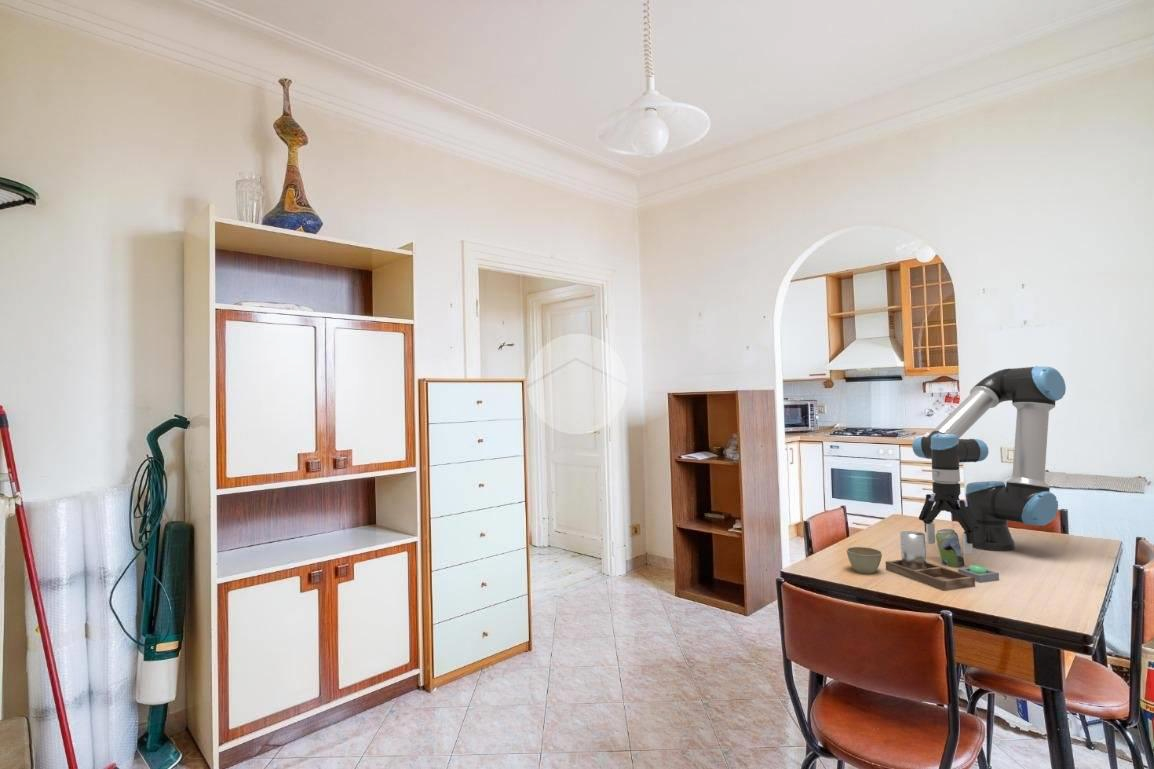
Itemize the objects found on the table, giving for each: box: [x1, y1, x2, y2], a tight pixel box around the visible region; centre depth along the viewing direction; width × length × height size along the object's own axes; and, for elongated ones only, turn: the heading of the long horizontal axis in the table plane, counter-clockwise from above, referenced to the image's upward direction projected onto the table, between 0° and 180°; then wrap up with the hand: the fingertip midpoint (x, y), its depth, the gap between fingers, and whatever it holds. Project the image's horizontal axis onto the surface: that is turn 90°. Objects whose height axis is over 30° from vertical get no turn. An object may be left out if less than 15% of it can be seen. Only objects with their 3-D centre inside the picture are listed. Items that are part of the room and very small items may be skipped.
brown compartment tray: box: [885, 559, 976, 592], centre depth 168 cm, size 11×21×4 cm, turn 13°
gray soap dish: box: [957, 566, 1000, 583], centre depth 166 cm, size 7×7×3 cm
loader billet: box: [899, 530, 927, 570], centre depth 173 cm, size 7×7×12 cm
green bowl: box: [846, 546, 883, 574], centre depth 177 cm, size 10×10×7 cm
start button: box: [969, 564, 987, 574], centre depth 166 cm, size 4×4×3 cm
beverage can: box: [935, 528, 965, 568], centre depth 180 cm, size 6×7×12 cm
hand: (948, 548), depth 180 cm, fingers open, 13 cm apart
